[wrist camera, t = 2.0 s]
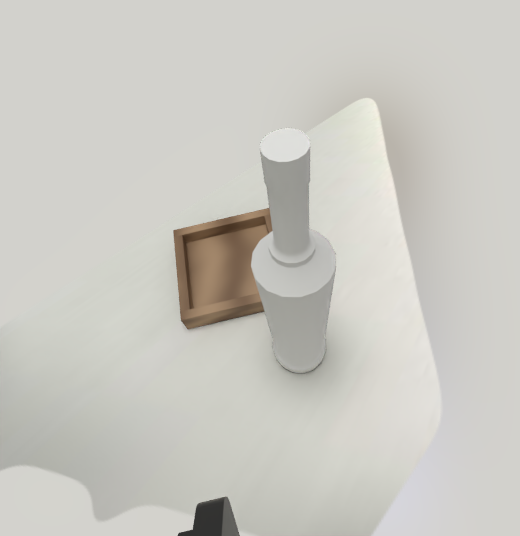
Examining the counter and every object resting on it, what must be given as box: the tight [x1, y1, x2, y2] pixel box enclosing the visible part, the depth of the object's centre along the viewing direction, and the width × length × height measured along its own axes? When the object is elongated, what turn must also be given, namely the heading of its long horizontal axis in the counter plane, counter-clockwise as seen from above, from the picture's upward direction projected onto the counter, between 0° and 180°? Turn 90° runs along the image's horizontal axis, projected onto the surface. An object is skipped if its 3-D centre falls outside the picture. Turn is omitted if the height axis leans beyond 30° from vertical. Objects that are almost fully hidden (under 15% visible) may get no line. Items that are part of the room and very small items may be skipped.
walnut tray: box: [173, 208, 273, 329], centre depth 40 cm, size 12×12×2 cm
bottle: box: [251, 128, 336, 373], centre depth 25 cm, size 5×5×25 cm
